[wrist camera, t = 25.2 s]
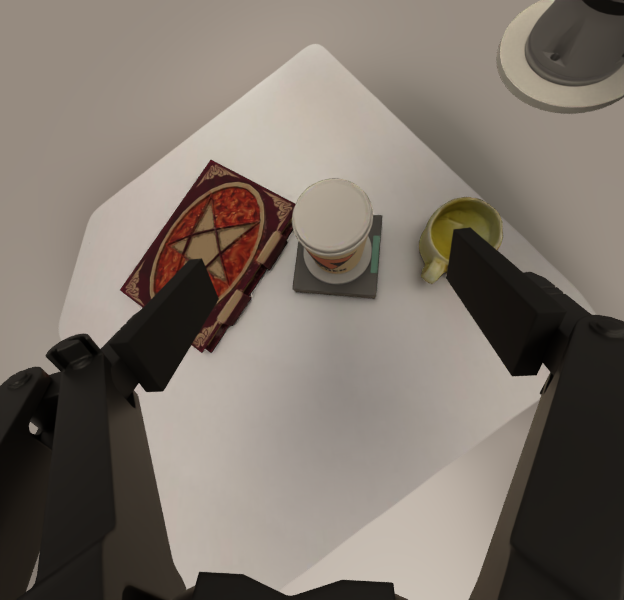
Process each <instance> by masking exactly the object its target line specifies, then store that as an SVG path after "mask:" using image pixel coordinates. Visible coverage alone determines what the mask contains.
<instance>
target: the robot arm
mask: <svg viewBox="0 0 624 600" xmlns="http://www.w3.org/2000/svg"><path fill="white" fill-rule="evenodd" d="M525 57H526V60H527V62H528V64H529V66H530V67H531V69H532V70H533V71H534V72H535V73H536V74H537V75H539V76H540V77H541V78H543V79H545V80H547V81H549V82H552V83H555V84H558V85H563V86H586V85H591V84H594V83H598V82H600V81H603V80H605V79H607V78H608V77H610V76H611V75H613V74H614V73H615V72H617V71H618V70H619V69H620V68H621V67H622V66H623V64H624V0H555V1H554V2H553V3H552V4H551V6H550V7H549V8H548V9H547V10H546V11H545V12H544V13H543V14H542V15H541V17H540V18H539V19H538V21H537V22H536V23H535V25H534V27H533V28H532V30H531V32H530V34H529V36H528V38H527V40H526V43H525ZM446 279H447V280H448V282H449V283H450V285H451V286H452V287H453V289H454V290H455V292H456V293H457V295H458V296H459V298H460V299H461V301H462V302H463V304H464V305H465V307H466V308H467V310H468V311H469V313H470V314H471V316H472V317H473V319H474V320H475V322H476V323H477V325H478V326H479V328H480V329H481V331H482V332H483V334H484V335H485V337H486V338H487V340H488V341H489V343H490V344H491V346H492V347H493V349H494V350H495V352H496V353H497V355H498V356H499V358H500V359H501V361H502V362H503V364H504V365H505V367H506V368H507V369H508V371H509V372H510V374H511V375H512V376H529V375H537V373H538V371H539V369H540V367H541V365H542V363H544V365H545V366H546V367H547V368H548V370H549V371H550V374H549V376H548V378H547V380H546V382H545V384H544V386H543V388H542V390H541V392H540V394H542V395H541V398H540V401H539V404H538V407H537V410H536V413H535V415H534V418H533V421H532V424H531V427H530V430H529V433H528V436H527V439H526V441H525V444H524V447H523V450H522V453H521V456H520V459H519V462H518V465H517V468H516V470H515V474H514V476H513V479H512V483H511V485H510V488H509V491H508V494H507V497H506V500H505V502H504V505H503V508H502V512H501V514H500V517H499V520H498V523H497V526H496V529H495V531H494V534H493V537H492V540H491V543H490V546H489V549H488V552H487V555H486V558H485V560H484V563H483V566H482V569H481V572H480V575H479V577H478V580H477V582H476V585H475V587H474V589H473V591H472V594H471V596H470V598H469V600H624V322H623V321H621V320H618V319H615V318H612V317H607V316H601V315H591V314H590V313H589V312H587V311H586V310H585V309H584V308H582V307H581V306H580V305H579V304H577V303H576V302H575V301H574V300H572V299H571V298H570V297H569V296H567V295H566V294H563V292H562V291H561V290H560V289H558V288H557V287H556V288H555V285H553V284H552V283H551V282H550V281H548V280H547V279H546V278H544V277H542V276H539V275H537V274H535V273H532V272H524V273H523V272H522V271H521V270H519V269H518V268H517V267H516V266H515V265H514V264H512V263H511V262H510V261H509V260H508V259H507V258H505V257H504V256H503V255H502V254H501V253H500V252H498V251H497V250H496V249H495V248H494V247H493V246H491V245H490V244H489V243H488V242H487V241H486V240H484V239H483V238H482V237H481V236H480V235H479V234H477V233H476V232H475V231H474V230H473V229H472V228H470V227H469V228H460V229H453V236H452V242H451V249H450V256H449V263H448V269H447V276H446ZM218 300H219V298H218V295H217V293H216V291H215V288H214V286H213V283H212V281H211V279H210V276H209V274H208V271H207V269H206V267H205V264H204V262H203V259H202V258H200V259H191V260H188V261H187V263H186V264H185V265H184V266H183V267H182V268H181V269H180V270H179V271H178V272H177V273H176V274H175V275H174V276H173V277H172V278H171V279H170V280H169V281H168V282H167V283H166V284H165V285H164V286H163V287H162V289H161V290H160V291H159V292H158V293H157V294H156V295H155V296H154V297H153V298H152V299H151V300H150V301H149V302H148V303H147V304H146V305H145V306H144V307H143V308H142V309H141V310H140V311H139V312H137V313H136V314H134V315H133V316H132V317H131V318H130V319H129V320H128V321H127V322H126V323H127V324H125V325H124V326H123V327H122V328H121V330H119V331H118V332H117V333H116V334H115V335H114V336H113V337H112V338H111V339H110V340H109V341H108V342H107V343H106V344H105V345H104V346H103V347H102V348H101V349H100V348H99V347H98V346H97V345H96V344H95V342H94V341H93V340H92V339H91V337H90V336H89V335H88V334H77V335H74V336H71V337H69V338H67V339H65V340H63V341H61V342H59V343H58V344H56V345H55V346H54V347H52V348H51V349H50V350H49V351H48V352H47V354H46V357H47V358H48V359H49V360H50V361H51V362H52V363H53V364H54V365H55V366H56V367H57V368H58V369H59V370H60V371H61V372H58V373H54V374H51V375H48V374H47V373H46V372H45V371H44V370H43V369H42V368H41V367H32V368H28V369H26V370H23V371H20V372H18V373H16V374H14V375H12V376H11V377H10V378H9V379H8V380H6V381H5V382H4V383H3V384H2V385H1V386H0V600H408V599H406V598H404V597H401V596H399V595H397V594H395V593H394V585H393V583H389V582H372V581H354V580H340V581H337V582H334V583H331V584H328V585H325V586H322V587H319V588H316V589H313V590H309V591H306V592H303V593H300V594H297V595H293V596H288V595H285V594H283V593H281V592H279V591H276V590H274V589H272V588H270V587H268V586H266V585H264V584H262V583H260V582H258V581H256V580H254V579H252V578H250V577H248V576H246V575H244V574H229V573H211V572H199V574H198V578H197V581H196V585H195V586H193V587H191V588H189V589H187V590H186V587H185V584H184V582H183V580H182V578H181V576H180V574H179V573H178V571H177V569H176V567H175V565H174V563H173V559H172V555H171V550H170V546H169V541H168V536H167V531H166V527H165V522H164V517H163V512H162V507H161V503H160V498H159V493H158V488H157V484H156V479H155V474H154V469H153V464H152V460H151V455H150V450H149V445H148V440H147V436H146V431H145V426H144V421H143V417H142V412H141V407H140V402H139V397H138V395H137V394H136V392H135V391H134V389H135V388H136V386H137V385H138V383H140V385H141V386H142V387H143V388H144V390H145V391H146V392H161V391H164V389H165V388H166V386H167V384H168V383H169V381H170V379H171V378H172V376H173V374H174V373H175V371H176V369H177V368H178V366H179V364H180V363H181V361H182V360H183V358H184V356H185V355H186V353H187V351H188V350H189V348H190V346H191V345H192V343H193V341H194V340H195V338H196V336H197V335H198V333H199V331H200V330H201V328H202V326H203V325H204V323H205V321H206V320H207V318H208V316H209V315H210V313H211V311H212V310H213V308H214V306H215V305H216V303H217V302H218ZM30 422H32V423H33V424H34V425H35V426H37V427H38V430H37V432H36V434H35V435H34V434H32V433H30V431H29V423H30ZM39 552H40V555H39V564H38V571H37V577H36V581H35V584H34V585H33V587H32V588H31V589H30V590H28V591H27V592H26V590H27V587H28V584H29V581H30V578H31V575H32V572H33V569H34V566H35V563H36V561H37V557H38V554H39Z"/></svg>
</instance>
